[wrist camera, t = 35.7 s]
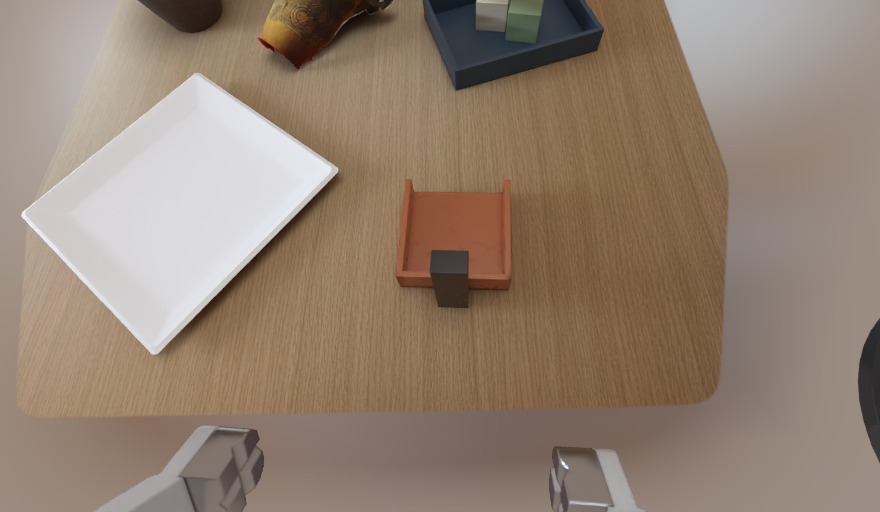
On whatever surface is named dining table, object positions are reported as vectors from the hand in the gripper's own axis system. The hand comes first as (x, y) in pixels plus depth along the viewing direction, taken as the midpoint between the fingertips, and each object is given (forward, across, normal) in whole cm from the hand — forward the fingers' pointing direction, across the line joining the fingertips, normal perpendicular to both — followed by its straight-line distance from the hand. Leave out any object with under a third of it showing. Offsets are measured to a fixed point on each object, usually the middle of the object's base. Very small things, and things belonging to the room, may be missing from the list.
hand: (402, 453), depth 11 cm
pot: (+57, +19, -18) cm, 63 cm away
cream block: (+52, -4, -20) cm, 56 cm away
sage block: (+51, -8, -19) cm, 55 cm away
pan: (+33, 0, +6) cm, 33 cm away
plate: (+36, +31, +3) cm, 48 cm away
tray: (+54, -6, -16) cm, 57 cm away
